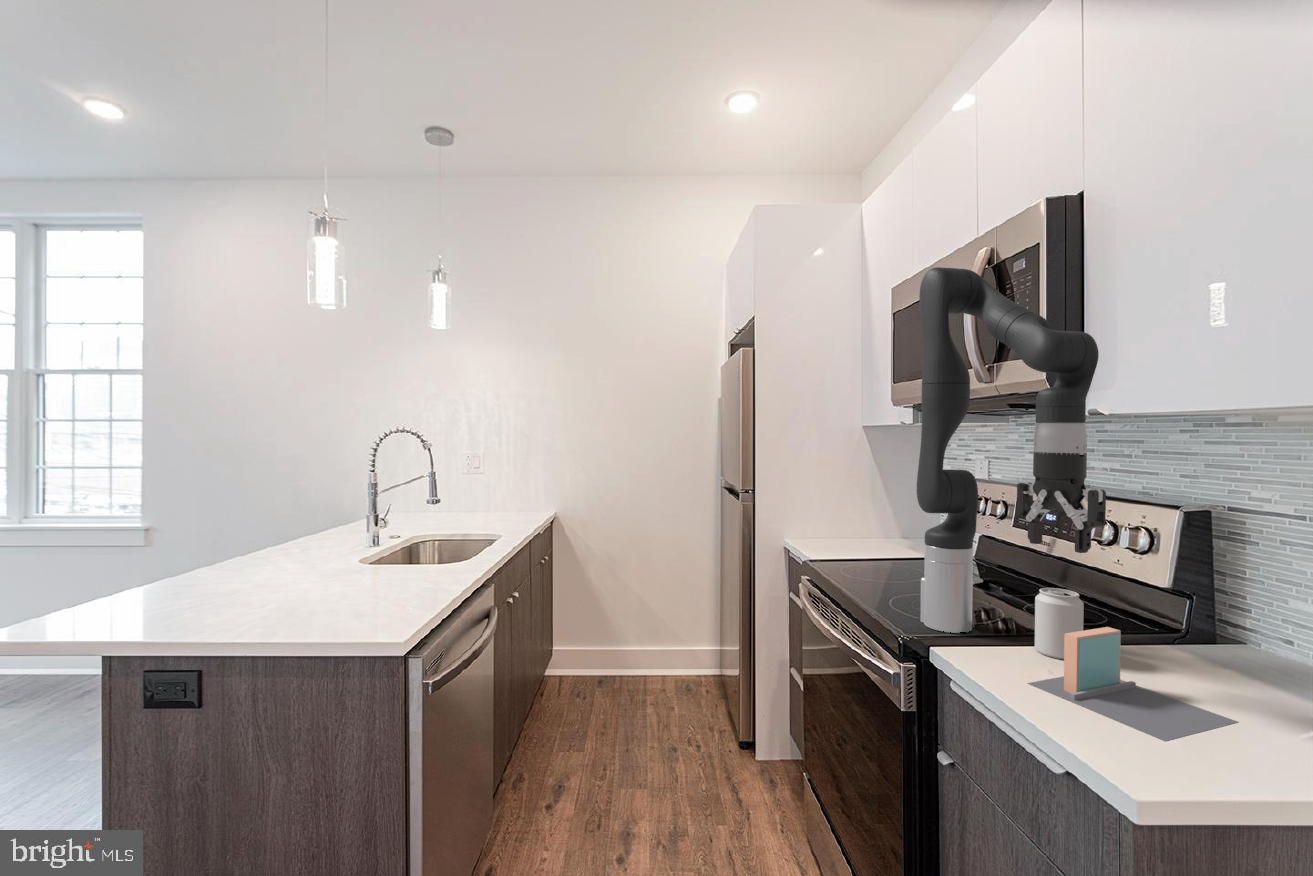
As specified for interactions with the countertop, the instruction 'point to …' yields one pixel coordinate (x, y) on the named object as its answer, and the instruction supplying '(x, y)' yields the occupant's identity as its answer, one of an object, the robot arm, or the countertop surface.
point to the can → (1056, 619)
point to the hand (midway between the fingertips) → (1057, 547)
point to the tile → (1091, 659)
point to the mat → (1140, 708)
